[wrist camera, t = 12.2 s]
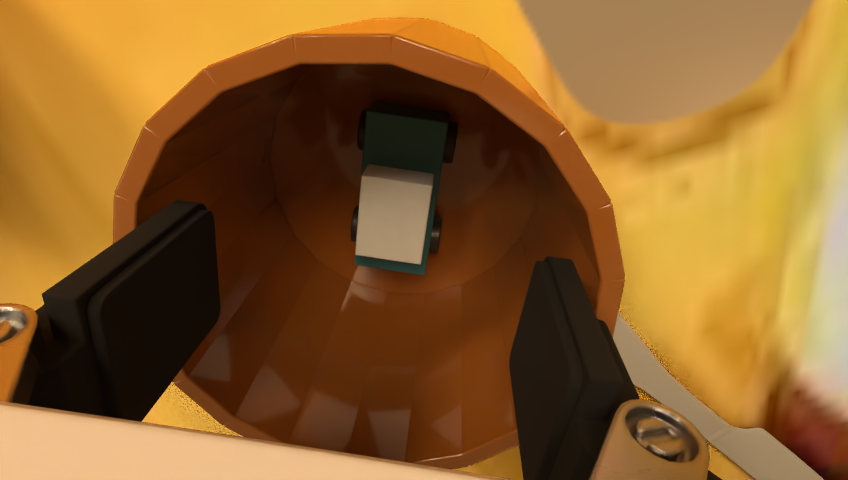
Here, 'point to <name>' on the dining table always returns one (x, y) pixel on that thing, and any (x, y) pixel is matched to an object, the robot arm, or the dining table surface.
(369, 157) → the toy car
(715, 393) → the dining table surface
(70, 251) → the dining table surface
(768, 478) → the butter knife
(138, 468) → the robot arm
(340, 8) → the dining table surface
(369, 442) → the tumbler
